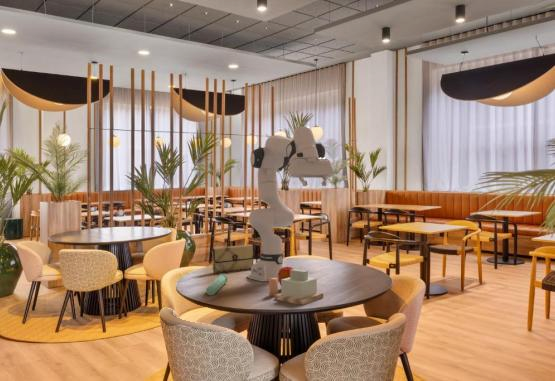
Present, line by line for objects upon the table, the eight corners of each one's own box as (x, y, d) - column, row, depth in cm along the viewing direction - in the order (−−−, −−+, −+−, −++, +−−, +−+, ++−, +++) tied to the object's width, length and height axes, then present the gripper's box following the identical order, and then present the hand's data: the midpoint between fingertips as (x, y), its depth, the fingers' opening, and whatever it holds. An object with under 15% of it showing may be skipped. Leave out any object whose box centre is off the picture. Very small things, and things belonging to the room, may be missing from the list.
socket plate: (274, 299, 216) (274, 289, 216) (296, 292, 229) (296, 283, 229) (302, 305, 206) (302, 294, 206) (323, 297, 218) (323, 287, 218)
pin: (267, 295, 223) (267, 278, 223) (273, 293, 226) (272, 277, 226) (274, 296, 221) (273, 279, 220) (279, 295, 224) (279, 278, 223)
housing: (281, 294, 217) (281, 270, 216) (296, 289, 225) (296, 267, 225) (301, 298, 209) (301, 274, 209) (316, 293, 218) (316, 269, 218)
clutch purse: (214, 275, 271) (214, 249, 270) (209, 273, 277) (209, 247, 276) (260, 269, 286) (259, 245, 285) (254, 267, 292) (254, 243, 291)
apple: (274, 289, 235) (274, 265, 234) (287, 286, 241) (286, 263, 241) (287, 292, 228) (287, 268, 228) (300, 289, 235) (300, 265, 234)
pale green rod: (213, 283, 224) (225, 271, 248) (202, 288, 224) (215, 275, 249) (218, 295, 224) (229, 282, 248) (207, 299, 224) (219, 286, 249)
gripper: (326, 161, 218) (332, 188, 213) (285, 160, 210) (291, 188, 205) (332, 155, 213) (338, 182, 207) (291, 153, 205) (297, 182, 199)
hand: (315, 185), depth 206 cm, fingers open, 8 cm apart
